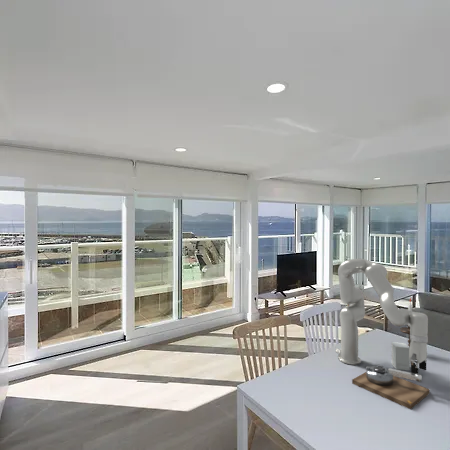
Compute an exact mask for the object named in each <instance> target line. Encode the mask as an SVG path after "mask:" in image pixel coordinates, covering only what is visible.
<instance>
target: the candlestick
mask: <svg viewBox="0 0 450 450" xmlns="http://www.w3.org/2000/svg"><path fill="white" fill-rule="evenodd" d="M411 301H412V298H410V299H409V304H408V305H407V306H408V307H407V310H410V311H413V304H412V302H411ZM405 325H406V327H404V326H401V327H400V328H399V331H400V332H401V333H403V334H407V335H408V339H407V343H408V344H407V346H408V347H409V348H410V342H411V340H410V324H405Z"/></svg>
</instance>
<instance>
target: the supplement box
mask: <svg viewBox="0 0 450 450" xmlns="http://www.w3.org/2000/svg"><path fill="white" fill-rule="evenodd" d="M390 347H391V365H392V366H393V369H395V370H400V371H406V372H409V371H410V372H411V364H410V360H409V349H410V348H409V346H408V344H406V343H405V342H393V341H392V342H391V346H390Z"/></svg>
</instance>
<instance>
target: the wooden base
mask: <svg viewBox="0 0 450 450" xmlns="http://www.w3.org/2000/svg"><path fill="white" fill-rule="evenodd" d="M351 382H352V384H353V385H354V386H356V387H359V388H362V389H364V390H366V391H369V392H371V393H373V394H375V395H377V396H379V397H382V398H384V399H386V400H388V401H391V402H393V403H396V404H397V405H399V406H402V407H404V408H407V409H409V410H412V409H413V408H414V407H415V406H416V405H418V404H419V403H420V402H421V401H423V400H424V399H425V398H426V397H428V396H429V395H430V393H431V392H430V390H431V389H430V388H427V387H424V386H421V385H419V384H416V383H414V382H412V381H409V380H407V379H405V378H402V377H397V376H393V384H392V385H390V386H381V385H377V384H374V383H372V382H370V381H369V380H367V378H366V371H365V372H363V373H362V374H360V375H357V376H355V377H354V378H352V379H351Z"/></svg>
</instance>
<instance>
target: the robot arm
mask: <svg viewBox="0 0 450 450" xmlns="http://www.w3.org/2000/svg"><path fill="white" fill-rule="evenodd" d="M360 273H361V274H365V277H366V279H367V280H368V282H369V283H370V285H371V286H372V288H373V290H374V291H375V292H376V294H377V295H378V300H379V303H380V307H381V309H382V311H383V313H384V314H385V317H386V318H387V319H388V321H389V322H390V323H391V324H392V325H393V326H394V327H400V328H402V327H404V326H405V325H408V324H410V340H411V342H410V349H409V360H410V373H414V374H419V369H420V370H423V371H427V360H428V359H427V358H428V346H427V345H428V341H429V336H428V335H429V334H428V333H429V331H428V330H429V329H428V328H429V326H428V324H429V319H428V318H429V317H428V315H427V314H426V313H424V312H419V311H418V312H417V311H413V310H412V311H410V310H408V308H400V309H399V308H398V306H397V304H396V303H395V300H394V294H395V293H394V289H395V288H394V286H393V285H392V284H391V283H390V281H389V279H388V278H387V275H388V271H387V268H386V267H385V266H384V265H383V264H380V263H378V262H374V261H372V260H368V259H365V258H352V259H346V260H344V261H343V262H341V264H339V266H338V269H337V274H338V275H337V277H338V284H339V297H340V301H341V302H342V304H344V305H348V306H344V307H342V309H340V312H339V321H340V322H339V323H340V348H338V347H336V349H335V353H336V354H338V356H337V357H338V358H337V359H338V361H340V362H341V363H344V364H346V365H350V366H351V365H352V366H353V365H354V366H356V365H360V364H361V363H362V359H361V358H360V357H359V327H358V324H357V322H358V321H362V320H363V319H364V318H365V316H366V308H365V307H366V306H365V296H364V293H363V291H362V290H361V288H360V287H358V286H355V279H354V276H353V275H356V274H360Z"/></svg>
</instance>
